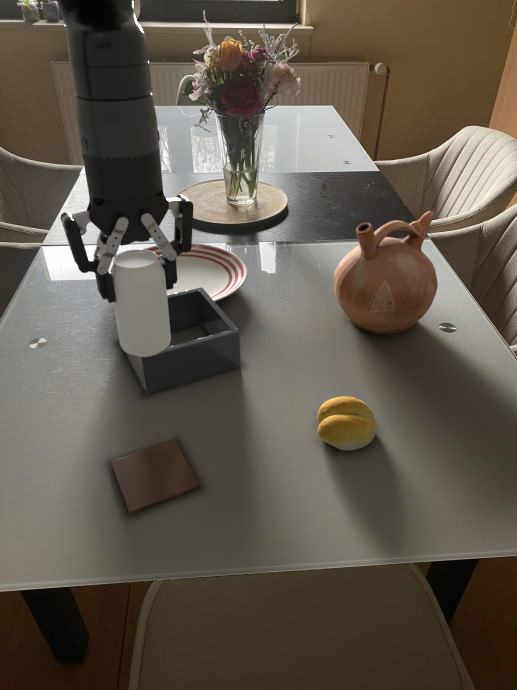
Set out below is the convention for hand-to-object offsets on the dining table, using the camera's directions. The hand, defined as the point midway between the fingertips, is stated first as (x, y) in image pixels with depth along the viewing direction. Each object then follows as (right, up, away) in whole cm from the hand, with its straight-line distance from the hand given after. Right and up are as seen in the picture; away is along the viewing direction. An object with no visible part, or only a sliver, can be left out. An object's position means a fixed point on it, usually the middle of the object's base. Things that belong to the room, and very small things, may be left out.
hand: (139, 292), depth 62 cm
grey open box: (0, -8, +29) cm, 30 cm away
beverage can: (0, -6, +4) cm, 8 cm away
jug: (+37, -1, +39) cm, 54 cm away
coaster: (0, -23, +7) cm, 24 cm away
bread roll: (+26, -18, +15) cm, 35 cm away
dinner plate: (-2, +6, +49) cm, 50 cm away
